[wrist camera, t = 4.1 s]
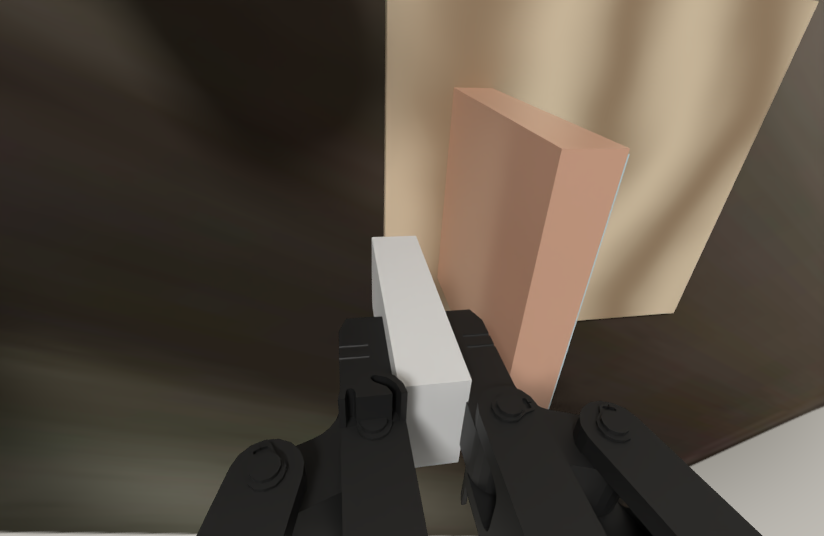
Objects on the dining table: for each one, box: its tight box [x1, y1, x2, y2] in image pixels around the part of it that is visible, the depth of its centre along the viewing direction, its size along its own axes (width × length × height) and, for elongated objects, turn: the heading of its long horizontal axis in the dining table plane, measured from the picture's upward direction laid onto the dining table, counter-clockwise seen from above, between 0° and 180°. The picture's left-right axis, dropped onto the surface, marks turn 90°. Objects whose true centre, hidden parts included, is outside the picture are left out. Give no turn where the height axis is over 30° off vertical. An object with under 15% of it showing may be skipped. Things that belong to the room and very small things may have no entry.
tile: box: [437, 87, 630, 409], centre depth 17 cm, size 2×10×10 cm, turn 177°
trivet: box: [384, 0, 819, 321], centre depth 22 cm, size 20×18×1 cm
